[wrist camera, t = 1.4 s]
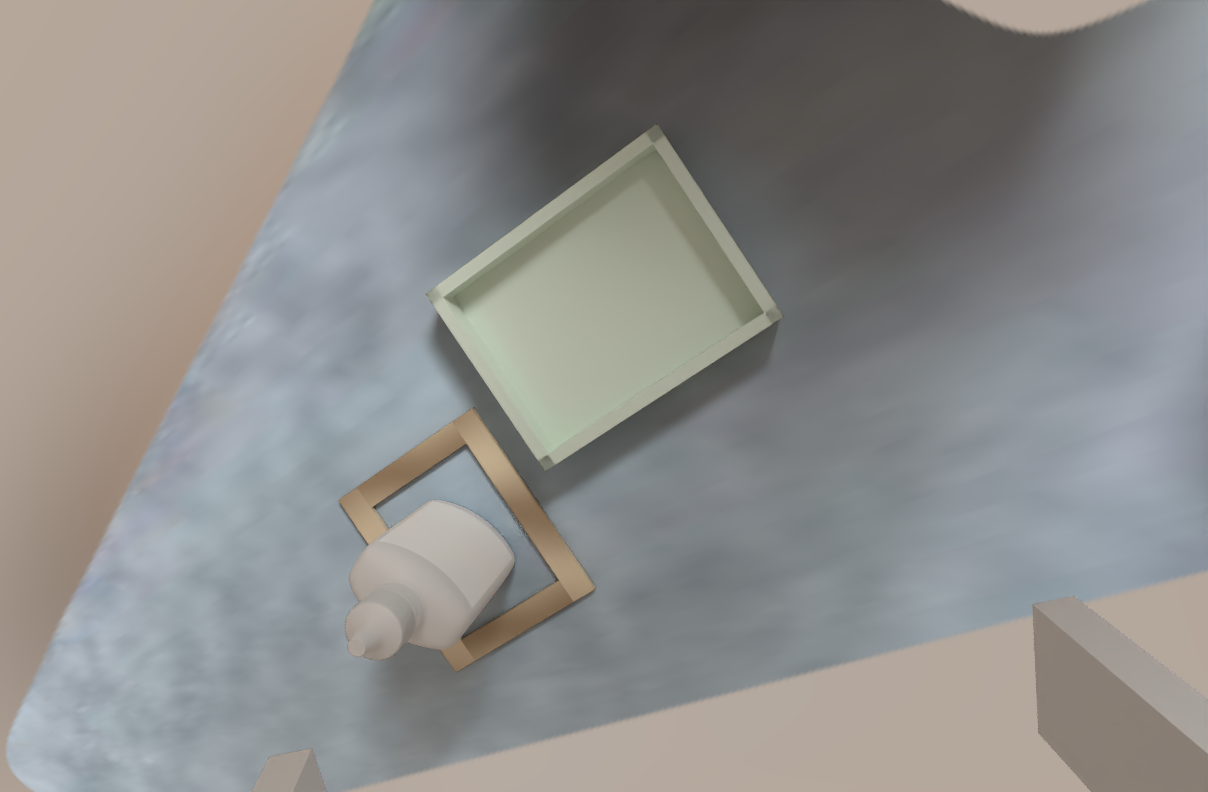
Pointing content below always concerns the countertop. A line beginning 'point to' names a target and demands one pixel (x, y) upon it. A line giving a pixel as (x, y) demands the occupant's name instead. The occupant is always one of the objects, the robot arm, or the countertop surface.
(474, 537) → the eye dropper bottle
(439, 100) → the countertop surface
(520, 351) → the tray
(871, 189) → the countertop surface
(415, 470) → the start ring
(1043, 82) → the countertop surface
